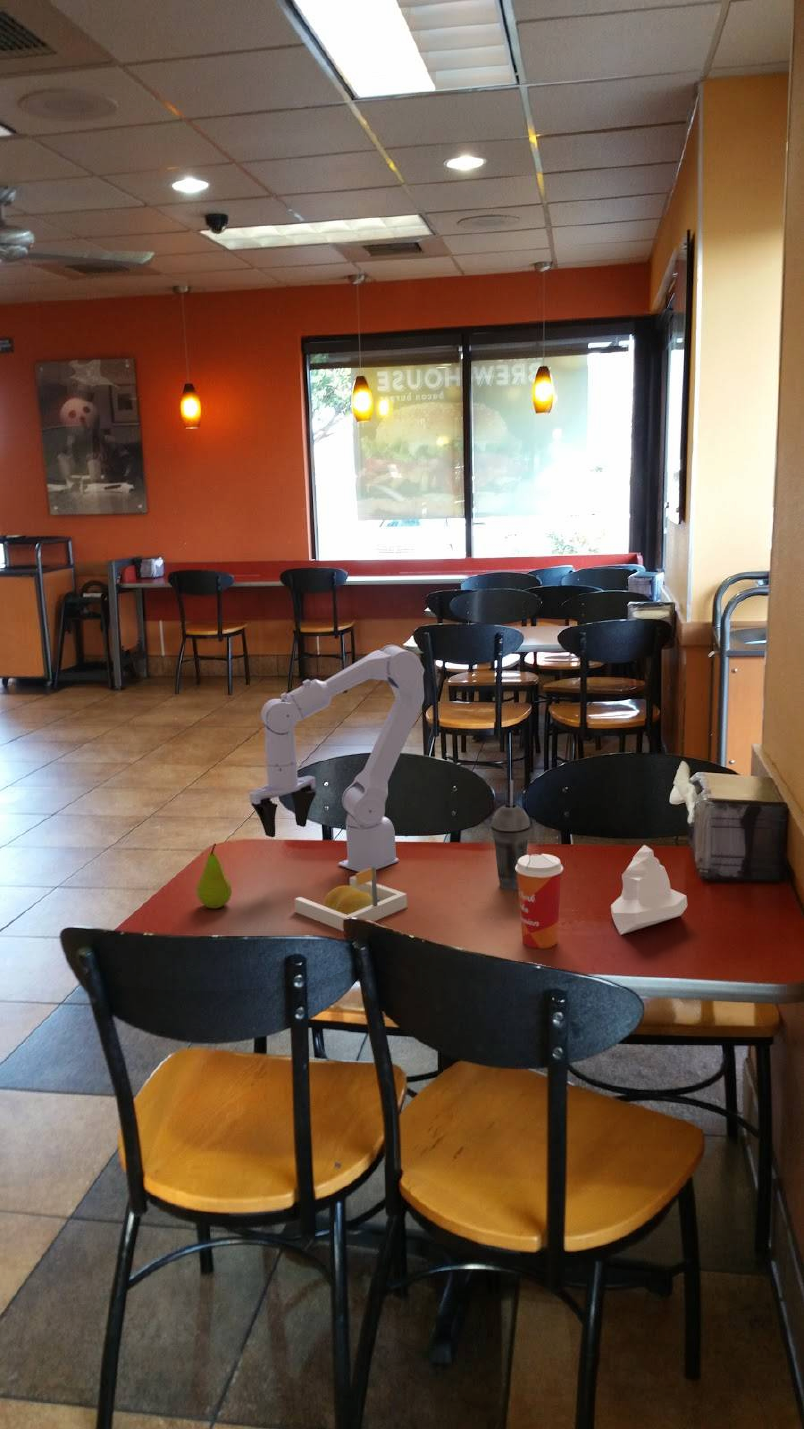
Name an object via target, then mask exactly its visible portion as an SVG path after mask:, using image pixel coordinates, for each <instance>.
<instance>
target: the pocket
mask: <svg viewBox="0 0 804 1429" xmlns="http://www.w3.org/2000/svg"><path fill="white" fill-rule="evenodd" d="M349 886H352V887H354V888H356V889H358V890H359V891H363V892H367V893H369V894H370V895H371V897H372V899H373V905H370V906H368V907H365V908H363V909H361V910H358V911H356V912H353V913H351V914H349V915H346V914H343V913H341V912H338V911H335V910H333V909H330V908H328V907H325V906H324V905H323V904H320V903H317V902H315V901H311V900H309V899H307V898H305V897H301V896H299V897H296V898H294V906H295V907H294V909H295V913H298V914H300V915H302V916H304V917H307V918H309V919H312V920H315V921H317V922H319V921H320V922H319V923H322V924H325V925H326V926H330V927H332V928H334V929H337V930H339V931H342V932H344V931H343V928H342V923H343V919H345V918H347V917H360V918H364V919H368V920H374V922H376V921H378V920H380V919H383V918H385V917H387V916H389V915H392V914H395V913H397V912H399V911H401V910H404V909H406V908H408V896H407V895H408V894H407V893H405V892H403V891H399V890H397V889H394V888H391V887H387V886H385V885H382V884H380V883H377V871H376V867H374V866H373V867H371V868H369V869H367V870H364V871H361V872H357V873H355V875H353V876H351V877H349Z"/></svg>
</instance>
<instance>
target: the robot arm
mask: <svg viewBox="0 0 804 1429" xmlns="http://www.w3.org/2000/svg"><path fill="white" fill-rule="evenodd" d="M422 664H423V663H422V662H421V660H420V658H419V657H418V655H417V654H416V653H414V652H412V651H409V650H406V649H403V648H402V647H400V646H399V645H396V644H388V645H385V646H383V647H382V648H380V649H377V650H376V649H375V651H372V652H370V653H369V654H367V655H366V656H364V657H362V658H361V659H359V660H358V661H355V662H354V663H352V664H351V665H349V666H348V667H346V668H344V669H342V670H341V671H339V672H337V673H336V674H335V675H332V676H331V677H329V678H327V679H326V680H324V681H322V680H319V679H316V678H315V679H312V680H310V679H305V680H303V681H302V685H301V686H299V687H298V688H295V689H294V690H292V691H290V692H288V693H286V692H283V693H281V694H280V698H272V699H270V700H268V701H266V702H265V703H264V704H263V706H262V709H261V712H260V713H259V718H260V721H261V723H262V724H264V737H265V738H264V745H265V746H264V747H265V760H266V761H265V762H266V763H265V764H266V776H267V782H266V785H264V786H262V787H260V788H258V789H256V790H254V791H251V792H249V802H250V804H251V807H252V808H253V809H254V811H255V812H256V814H257V816H258V817H259V820H260V822H261V824H262V828H263V830H264V831H263V832H264V834H265V836H267V837H269V838H274V837H276V816H277V808H278V804H277V803H275V802H273V801H272V800H271V799H274V798H278V797H282V796H284V795H289V794H290V795H291V798H292V802H293V807H294V816H295V818H294V819H295V823H296V826H298V827H302V828H304V827H307V821H308V816H309V812H310V809H311V805H312V803H313V801H314V799H315V797H316V796H317V793H316V792H317V791H316V789H313V788H315V787H316V786H317V784H316V777H315V776H313V775H306V776H301V777H298V763H297V762H298V761H297V760H298V759H297V746H296V745H297V744H296V738H295V728H296V726H297V724H298V722H302V721H304V720H306V719H307V718H308V717H311V716H313V715H314V714H316V713H318V712H320V711H322V710H324V709H325V708H327V707H329V706H330V705H331V702H332V699H333V697H334V696H337V695H338V694H341V693H343V692H345V691H347V690H350V689H351V688H353V687H355V686H357V685H359V684H361V683H363V682H366V681H367V680H377V681H386V682H388V683H389V686H390V688H391V690H392V692H393V694H394V701H393V703H392V706H391V708H390V710H389V712H388V713H387V717H386V719H385V721H384V723H383V725H382V728H381V729H380V732H379V735H378V737H377V739H376V741H375V744H374V746H373V749H372V750H371V752H370V755H369V757H368V759H367V762H366V763H365V766H364V768H363V770H362V771H361V772H359V773H358V774H357V775H355V777H354V780H353V782H352V783H351V784H350V785H349V786H347V788H345V790H344V792H343V794H342V797H341V803H342V804H341V805H342V806H343V808H344V810H345V811H346V812H347V816H346V818H345V833H346V836H345V837H346V852H347V859H346V860H345V859H344V860H343V861H340V862H338V866H340V867H343V868H346V869H348V870H352V871H355V872H357V873H359V872H361V871H364V870H367V869H369V868H371V867H373V866H374V867H376V870H379V869H383V868H385V867H387V866H390V865H392V864H395V863H398V862H399V861H400V860H399V858H398V857H397V856H396V855H397V853H396V831H395V828H394V827H395V826H394V824H393V823H392V820H390V819H389V818H388V817H386V816H385V812H386V800H387V798H388V796H389V789H388V787H389V786H388V783H389V780H390V778H391V776H392V772H393V771H394V768H395V767H396V765H397V764H396V763H397V762H398V760H399V757H400V755H401V753H402V751H403V749H404V746H405V744H406V743H407V739H408V738H409V735H410V733H411V730H412V728H413V726H414V724H415V722H416V719H417V718H418V715H419V713H420V710H421V708H422V706H423V704H424V701H425V690H424V689H425V685H424V673H425V671H426V670H425V668H424V666H423V665H422Z"/></svg>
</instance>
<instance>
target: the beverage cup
mask: <svg viewBox="0 0 804 1429" xmlns="http://www.w3.org/2000/svg"><path fill="white" fill-rule="evenodd" d="M509 789H510V790H509V791H510V792H509V795H510V796H509V804H505V805H502V806H501V807H499V808H498V809H497V810H496V811H495V812H494V815H493V817H492V819H491V826H490V828H491V832H492V837H493V840H494V849H495V858H496V868H497V869H496V870H497V877H498V881H499V887H500V888H501V889H503V890H507V891H514V890H515V891H516V890H519V888H518V875H517V871H516V870H515V867H516V865H517V863H518V860H519V858H521V857H522V856H525V855H528V853H527V852H528V843H529V842H528V840H529V836H530V829H531V828H532V826H531V824H530V818H529V816H528V814H527V812H526V811H525V810H524V808H522V807H520V806H519V805H516V804H514V780H513V779H511V780H510V788H509Z"/></svg>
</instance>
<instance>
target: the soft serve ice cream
mask: <svg viewBox="0 0 804 1429" xmlns="http://www.w3.org/2000/svg"><path fill="white" fill-rule="evenodd" d="M654 854H655V853H654V850H653V849H652V848H650V847H649V846H647V845H645V844H643V845H642V847H641V848H640V849H639V850H638V851H637V852H636V853H635V855H634V856H633V857H632V861H631V862H630V863H629V865H628V867H626V869H625V871H624V872H623V873H622V874H621V880H622V886H623V887H622V891H621V895H619V897H618V898H617V899H616V900H614V902H613V903H611V905H610V909H611V910H610V911H611V917H612V920H613V923H614V925H615V928H616V929H617V932H618V933H619V934H620V936H621V935H625V934H628V933H630V932H631V933H632V932H634V931H636V930H637V931H638V930H641V929H643V928H648V927H650V926H653V925H656V924H659V923H662V922H665V921H668V920H669V921H670V920H671V919H675V918H678V917H681V915H682V914H683V913H684V912H685V910H686V909H687V907H688V898H687V895H686V894H684V893H681V892H679V891H677V890H674V889H672V888H671V883H670V878H669V875H668V873H667V871H666V868H665V866H664V865H662V864H661V863H660V860H659V859H658V858H657V857H655V856H654Z"/></svg>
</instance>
